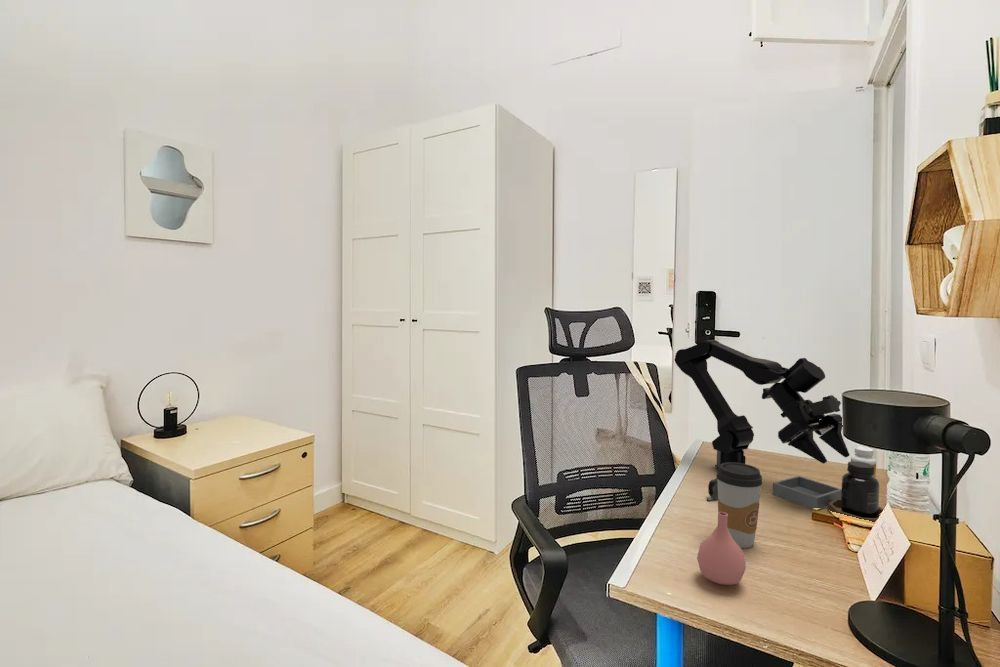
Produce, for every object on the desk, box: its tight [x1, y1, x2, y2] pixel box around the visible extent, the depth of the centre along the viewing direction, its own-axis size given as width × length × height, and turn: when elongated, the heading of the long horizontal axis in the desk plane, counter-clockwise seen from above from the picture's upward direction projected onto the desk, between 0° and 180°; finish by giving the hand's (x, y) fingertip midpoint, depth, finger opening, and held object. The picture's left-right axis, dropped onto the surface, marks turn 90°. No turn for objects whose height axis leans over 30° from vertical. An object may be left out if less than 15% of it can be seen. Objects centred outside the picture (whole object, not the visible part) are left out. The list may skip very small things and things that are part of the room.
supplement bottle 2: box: [840, 460, 880, 518], centre depth 111 cm, size 7×7×12 cm
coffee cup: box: [715, 462, 763, 549], centre depth 99 cm, size 8×8×15 cm
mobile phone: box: [706, 477, 718, 502], centre depth 122 cm, size 5×3×15 cm
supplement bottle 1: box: [850, 446, 877, 478], centre depth 129 cm, size 5×5×10 cm
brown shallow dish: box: [827, 499, 884, 522], centre depth 111 cm, size 11×11×2 cm
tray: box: [771, 475, 842, 510], centre depth 121 cm, size 11×11×3 cm
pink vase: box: [696, 511, 747, 586], centre depth 85 cm, size 8×8×12 cm
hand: (836, 459), depth 115 cm, fingers open, 9 cm apart
